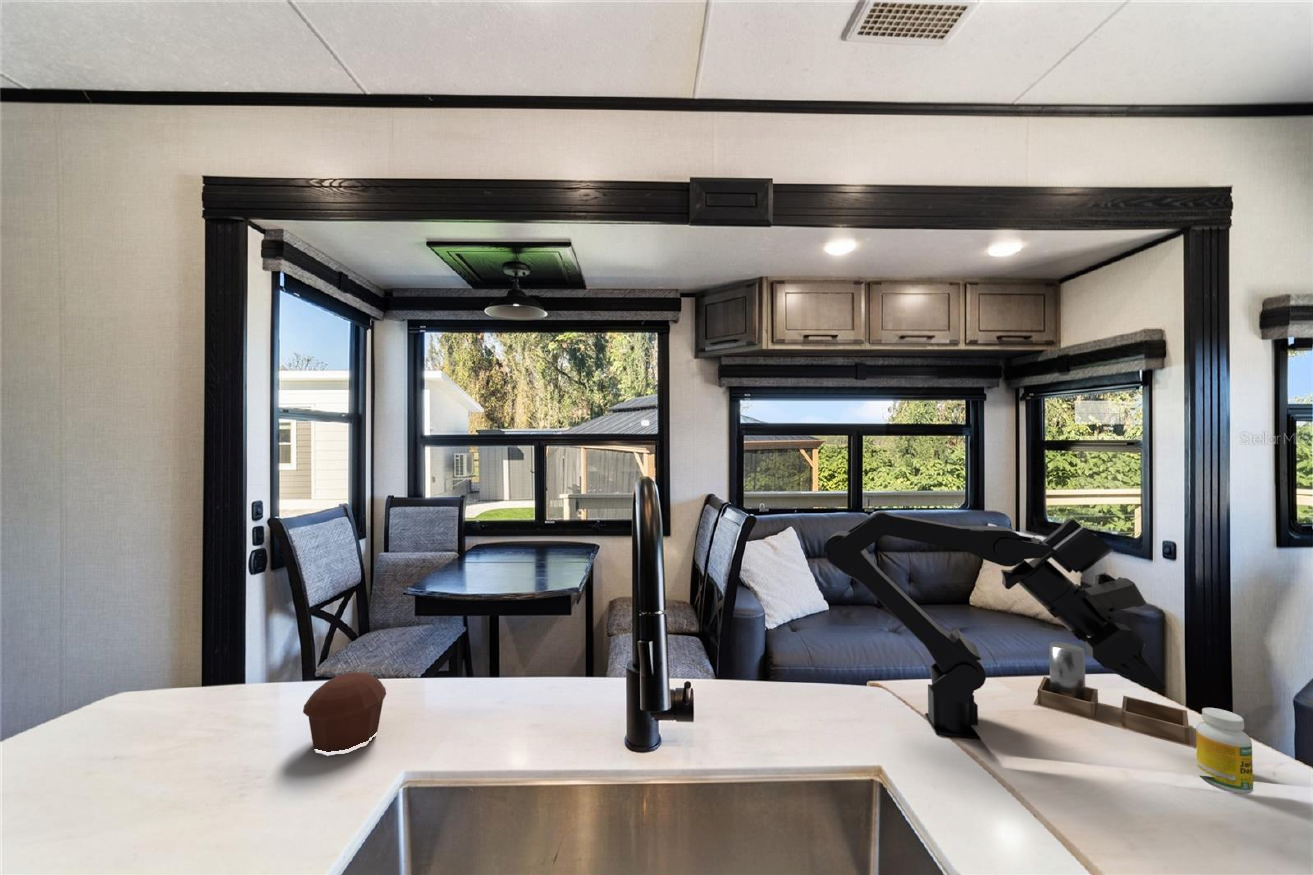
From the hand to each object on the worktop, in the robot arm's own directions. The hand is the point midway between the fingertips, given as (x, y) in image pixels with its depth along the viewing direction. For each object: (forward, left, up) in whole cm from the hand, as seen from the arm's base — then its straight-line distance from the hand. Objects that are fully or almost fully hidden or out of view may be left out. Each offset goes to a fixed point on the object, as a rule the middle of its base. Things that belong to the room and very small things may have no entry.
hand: (1149, 676), depth 77 cm
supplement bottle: (+7, -2, -14) cm, 16 cm away
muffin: (-122, -18, -14) cm, 124 cm away
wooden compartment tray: (+2, +13, -13) cm, 19 cm away
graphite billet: (-3, +16, -12) cm, 20 cm away
